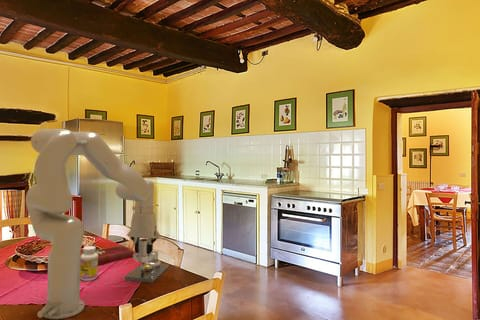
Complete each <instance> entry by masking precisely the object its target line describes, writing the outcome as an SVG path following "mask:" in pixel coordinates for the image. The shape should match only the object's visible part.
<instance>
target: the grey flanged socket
mask: <svg viewBox="0 0 480 320" xmlns="http://www.w3.org/2000/svg"><path fill="white" fill-rule="evenodd" d="M148 244H149V242H148V238H140V239H139V240H138V253H134V257H133V261H135V262H140V263H141V262H146V261H151V259H153V253H150V254H147V245H148Z"/></svg>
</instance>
